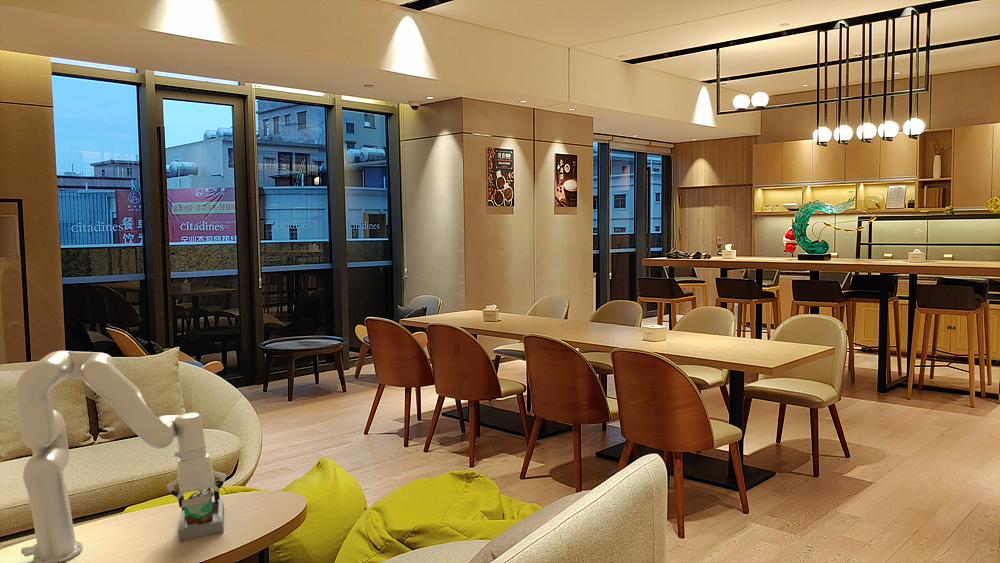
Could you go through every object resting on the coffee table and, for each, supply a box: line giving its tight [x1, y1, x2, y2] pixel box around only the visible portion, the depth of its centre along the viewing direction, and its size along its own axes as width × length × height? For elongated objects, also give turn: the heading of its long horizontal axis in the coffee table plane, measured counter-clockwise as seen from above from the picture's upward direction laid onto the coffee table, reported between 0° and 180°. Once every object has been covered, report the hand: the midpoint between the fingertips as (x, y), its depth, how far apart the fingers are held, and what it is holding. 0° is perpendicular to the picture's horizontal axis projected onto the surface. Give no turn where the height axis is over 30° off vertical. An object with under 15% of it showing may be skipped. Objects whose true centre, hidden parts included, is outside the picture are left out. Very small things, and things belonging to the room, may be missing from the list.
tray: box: [177, 498, 225, 543], centre depth 231 cm, size 12×18×4 cm
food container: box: [181, 487, 214, 527], centre depth 231 cm, size 12×6×10 cm, turn 172°
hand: (200, 505), depth 230 cm, fingers open, 9 cm apart
